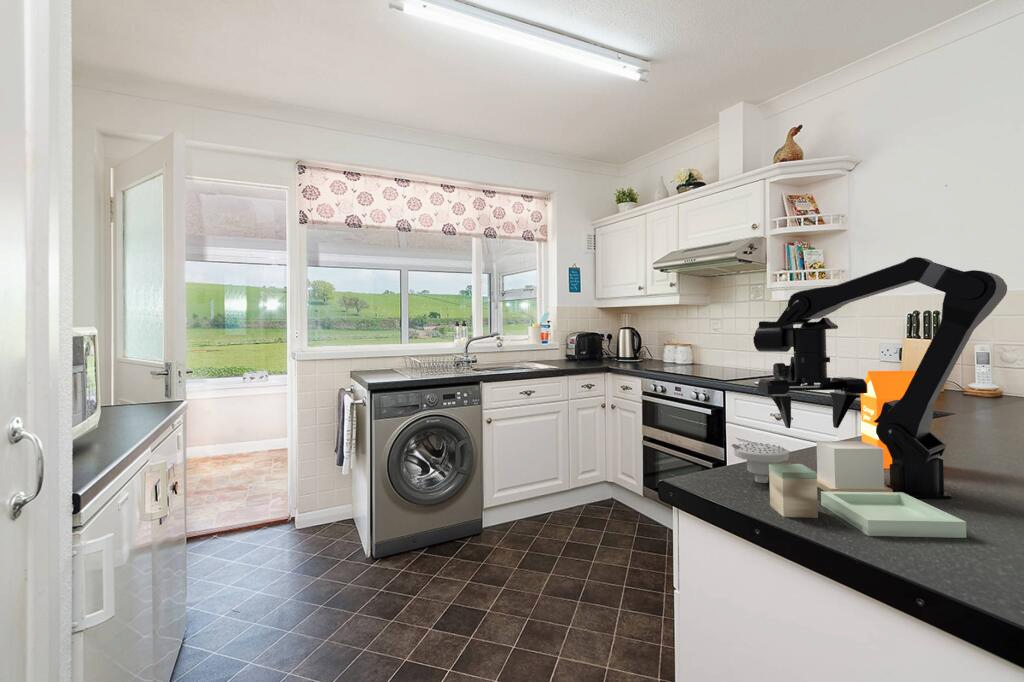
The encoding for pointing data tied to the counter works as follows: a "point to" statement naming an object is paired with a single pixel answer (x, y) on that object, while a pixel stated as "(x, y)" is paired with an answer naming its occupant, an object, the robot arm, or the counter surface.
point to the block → (793, 490)
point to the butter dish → (850, 467)
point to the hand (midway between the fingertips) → (811, 427)
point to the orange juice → (881, 403)
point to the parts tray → (892, 514)
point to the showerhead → (760, 458)
